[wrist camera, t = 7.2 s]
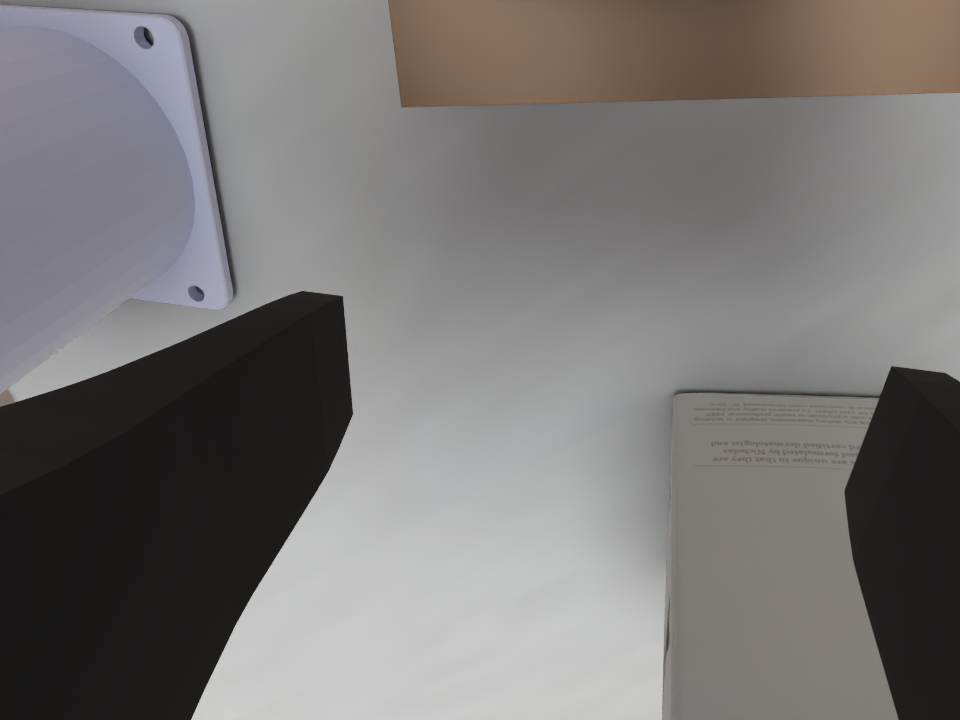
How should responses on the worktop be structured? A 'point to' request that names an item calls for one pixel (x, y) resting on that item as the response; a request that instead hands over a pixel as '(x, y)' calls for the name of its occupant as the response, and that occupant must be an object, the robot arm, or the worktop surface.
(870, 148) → the worktop surface
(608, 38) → the walnut block
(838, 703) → the supplement box
